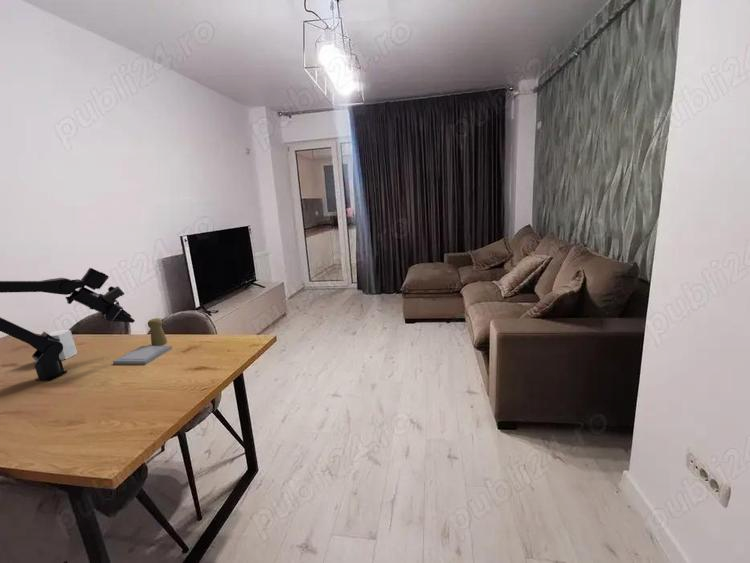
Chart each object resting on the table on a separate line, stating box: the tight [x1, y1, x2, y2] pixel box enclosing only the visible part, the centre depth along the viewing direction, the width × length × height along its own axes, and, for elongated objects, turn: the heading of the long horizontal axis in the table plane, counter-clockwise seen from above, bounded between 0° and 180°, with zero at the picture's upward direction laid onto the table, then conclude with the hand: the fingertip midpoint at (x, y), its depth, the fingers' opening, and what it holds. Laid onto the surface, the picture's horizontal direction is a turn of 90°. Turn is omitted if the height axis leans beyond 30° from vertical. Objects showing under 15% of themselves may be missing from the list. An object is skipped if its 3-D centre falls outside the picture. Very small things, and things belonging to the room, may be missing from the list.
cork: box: [147, 317, 168, 346], centre depth 154 cm, size 6×6×11 cm
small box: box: [47, 330, 78, 361], centre depth 148 cm, size 8×6×10 cm
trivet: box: [112, 345, 173, 365], centre depth 143 cm, size 14×14×1 cm
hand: (132, 319), depth 148 cm, fingers open, 9 cm apart
